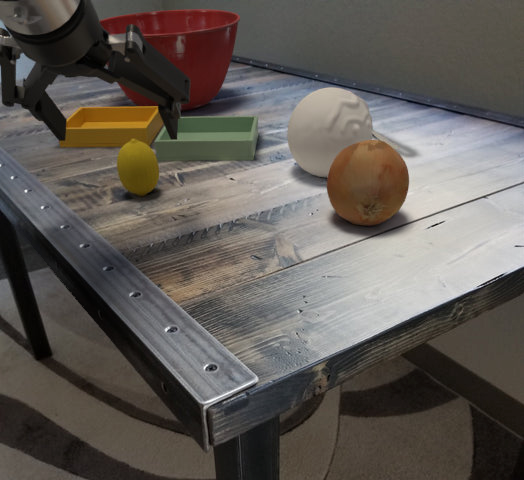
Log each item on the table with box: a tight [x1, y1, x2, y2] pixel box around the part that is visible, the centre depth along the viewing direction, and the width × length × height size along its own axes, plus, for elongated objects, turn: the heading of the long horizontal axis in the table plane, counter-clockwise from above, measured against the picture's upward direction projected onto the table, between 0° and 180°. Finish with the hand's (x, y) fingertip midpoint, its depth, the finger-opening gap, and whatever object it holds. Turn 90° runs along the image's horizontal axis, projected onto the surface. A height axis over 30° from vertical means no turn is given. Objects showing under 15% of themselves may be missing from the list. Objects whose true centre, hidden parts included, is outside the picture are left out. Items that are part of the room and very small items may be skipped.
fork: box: [372, 129, 401, 150], centre depth 99 cm, size 3×24×2 cm, turn 22°
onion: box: [326, 139, 410, 227], centre depth 70 cm, size 10×10×10 cm
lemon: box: [116, 139, 160, 197], centre depth 78 cm, size 6×6×8 cm
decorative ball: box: [286, 86, 374, 179], centre depth 82 cm, size 12×12×12 cm
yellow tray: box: [58, 105, 164, 148], centre depth 102 cm, size 15×13×4 cm
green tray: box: [154, 115, 259, 162], centre depth 95 cm, size 15×13×4 cm
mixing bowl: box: [99, 8, 241, 112], centre depth 115 cm, size 28×28×15 cm
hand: (118, 129), depth 69 cm, fingers open, 13 cm apart
